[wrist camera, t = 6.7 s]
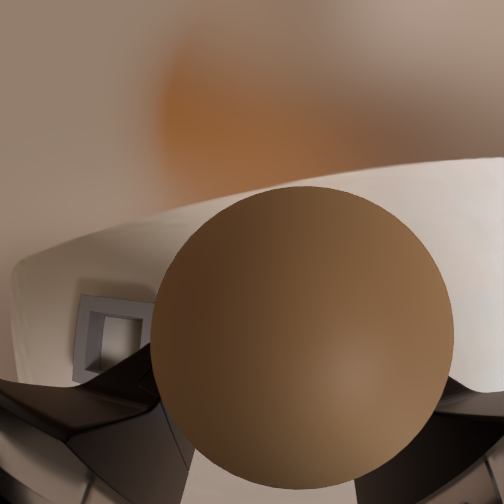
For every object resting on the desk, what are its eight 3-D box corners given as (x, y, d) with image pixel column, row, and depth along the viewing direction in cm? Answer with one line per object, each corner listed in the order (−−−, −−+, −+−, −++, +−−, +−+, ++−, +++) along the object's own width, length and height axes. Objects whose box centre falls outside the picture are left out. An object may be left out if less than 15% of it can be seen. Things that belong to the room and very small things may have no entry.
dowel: (283, 392, 14) (389, 506, 2) (223, 368, 15) (104, 408, 2) (308, 334, 15) (468, 249, 3) (249, 310, 16) (234, 151, 4)
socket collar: (163, 396, 19) (152, 401, 17) (88, 379, 19) (72, 380, 17) (169, 309, 22) (159, 303, 19) (95, 300, 22) (81, 294, 19)
